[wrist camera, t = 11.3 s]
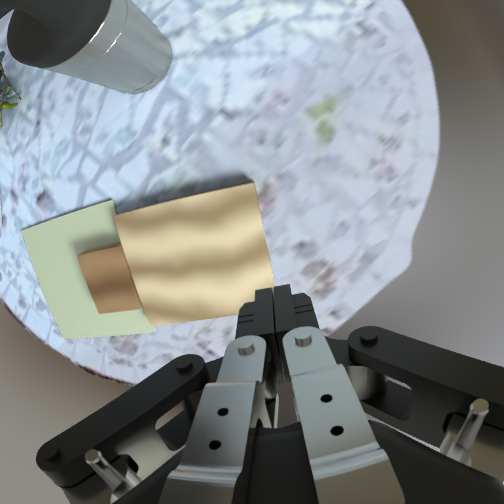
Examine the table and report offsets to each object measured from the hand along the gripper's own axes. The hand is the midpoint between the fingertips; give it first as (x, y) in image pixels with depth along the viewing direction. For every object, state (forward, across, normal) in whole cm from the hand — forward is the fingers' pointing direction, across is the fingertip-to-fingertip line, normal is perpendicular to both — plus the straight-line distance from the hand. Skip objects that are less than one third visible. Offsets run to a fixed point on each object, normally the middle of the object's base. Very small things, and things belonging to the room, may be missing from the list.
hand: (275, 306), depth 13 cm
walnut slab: (+25, +23, +5) cm, 34 cm away
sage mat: (+25, +29, +5) cm, 39 cm away
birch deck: (+25, +10, +5) cm, 27 cm away
